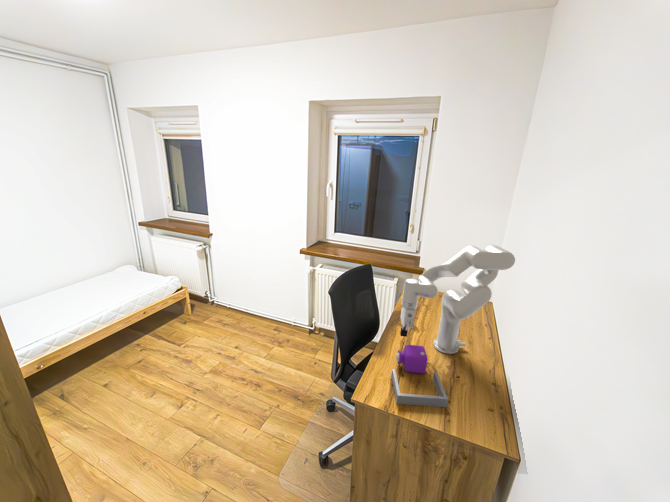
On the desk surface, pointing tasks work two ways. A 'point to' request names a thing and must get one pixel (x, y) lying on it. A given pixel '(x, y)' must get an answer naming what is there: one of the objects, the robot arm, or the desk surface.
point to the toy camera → (413, 359)
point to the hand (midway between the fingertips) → (403, 335)
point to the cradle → (421, 399)
